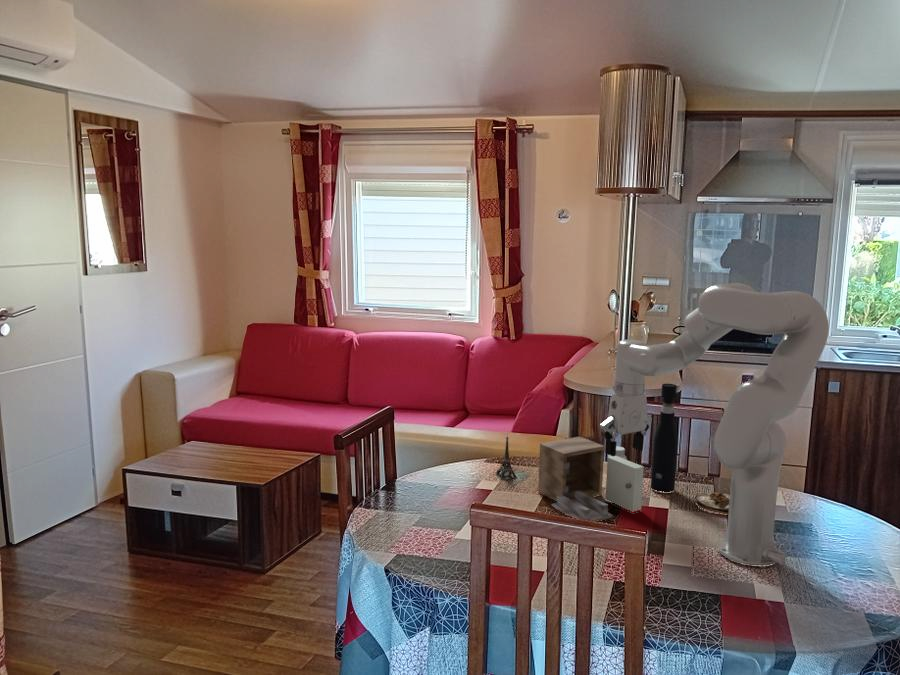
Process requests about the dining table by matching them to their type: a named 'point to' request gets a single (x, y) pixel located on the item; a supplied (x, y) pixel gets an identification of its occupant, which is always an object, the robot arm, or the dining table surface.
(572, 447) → the cabinet
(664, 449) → the black water bottle
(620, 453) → the supplement bottle
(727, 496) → the plate of food
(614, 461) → the door panel
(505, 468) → the eiffel tower figurine
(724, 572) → the dining table surface
